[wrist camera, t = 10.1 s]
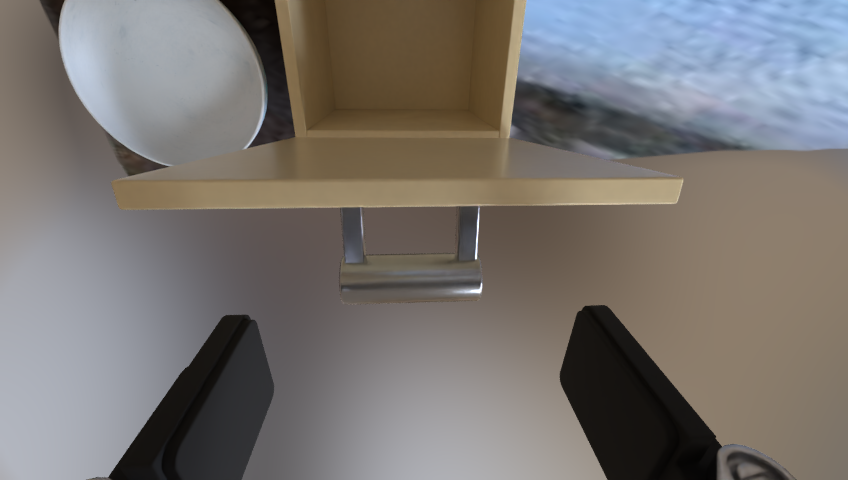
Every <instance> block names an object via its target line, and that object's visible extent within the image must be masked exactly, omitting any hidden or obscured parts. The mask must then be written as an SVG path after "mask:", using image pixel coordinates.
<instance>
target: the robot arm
mask: <svg viewBox="0 0 848 480" xmlns="http://www.w3.org/2000/svg"><path fill="white" fill-rule="evenodd" d="M560 382H561V385H562V388H563V390H564V392H565V394H566V396H567V398H568V400H569V402H570V404H571V406H572V408H573V410H574V412H575V414H576V416H577V418H578V420H579V422H580V424H581V426H582V428H583V430H584V433H585V435H586V437H587V439H588V441H589V443H590V445H591V447H592V449H593V451H594V453H595V455H596V457H597V459H598V461H599V463H600V465H601V467H602V469H603V471H604V473H605V476H606V478H607V479H608V480H796V479H795V478H794V477H793V476H792V475H791V474H790V473H789V472H788V471H787V470H786V469H785V468H783V467H782V466H781V465H780V464H778V463H777V462H776V461H774V460H773V459H772V458H770V457H768V456H766V455H765V454H763V453H761V452H759V451H757V450H755V449H752V448H749V447H747V446H743V445H737V444H730V445H725V446H723V447H722V446H721V445H720V444H719V442H718V441H717V440H716V439H715V438H716V436H715V435H714V433H713V432H712V431H711V430H710V429H709V427H708V426H707V425H706V424H705V423H704V421H703V420H702V419H701V418H700V417H699V415H698V414H697V413H696V412H695V411H694V410H693V408H692V407H691V406H690V405H689V403H688V402H687V401H686V400H685V399H684V397H682V395H681V394H680V393H679V392H678V390H677V389H676V388H675V387H674V385H673V384H672V383H671V382H670V381H669V379H668V378H667V377H666V376H665V375H664V373H663V372H662V371H661V370H660V369H659V367H658V366H657V365H656V364H655V363H654V361H653V360H652V359H651V358H650V357H649V355H648V354H647V353H646V352H645V350H644V349H643V348H642V347H641V346H640V344H639V343H638V342H637V341H636V340H635V338H634V337H633V336H632V335H631V334H630V332H629V331H628V330H627V329H626V328H625V326H624V325H623V324H622V323H621V322H620V320H619V319H618V318H617V317H616V316H615V314H614V313H613V312H612V311H611V310H610V309H609V308H608V307H607V306H605V305H598V306H597V305H596V306H585V307H584V308H583V309H582V311H579V312H578V313H577V316H576V319H575V322H574V326H573V329H572V333H571V336H570V340H569V343H568V347H567V350H566V354H565V357H564V361H563V364H562V368H561V371H560ZM273 393H274V383H273V380H272V377H271V373H270V369H269V366H268V362H267V358H266V355H265V351H264V347H263V344H262V340H261V337H260V333H259V329H258V326H257V323H256V321H255V320H251V319H250V317H249V316H248V315H226V316H224V317H223V318H222V319H221V320H220V322H219V323H218V325H217V326H216V327H215V329H214V330H213V332H212V333H211V335H210V336H209V338H208V339H207V341H206V342H205V343H204V345H203V346H202V348H201V349H200V351H199V352H198V354H197V355H196V356H195V358H194V359H193V361H192V362H191V364H190V365H189V366H188V367H187V368H185V369H184V370H183V371H182V373H181V374H180V375H179V377H178V378H177V380H176V381H175V382H174V384H173V385H172V387H171V388H170V390H169V391H168V392H167V394H166V396H165V397H164V398H163V400H162V401H161V402H160V404H159V405H158V407H157V408H156V410H155V411H154V412H153V414H152V415H151V417H150V418H149V420H148V421H147V423H146V424H145V425H144V427H143V428H142V430H141V431H140V433H139V434H138V435H137V437H136V438H135V440H134V441H133V442H132V444H131V445H130V447H129V448H128V450H127V451H126V453H125V454H124V455H123V457H122V458H121V460H120V461H119V463H118V464H117V465H116V467H115V468H114V470H113V471H112V472H111V474H110V475H109V477H108V478H105V477H104V478H103V477H96V478H92V479H88V480H241V479H242V477H243V474H244V471H245V469H246V466H247V464H248V461H249V458H250V456H251V453H252V450H253V448H254V445H255V442H256V440H257V437H258V435H259V432H260V429H261V427H262V424H263V421H264V419H265V416H266V413H267V411H268V408H269V406H270V403H271V400H272V397H273Z"/></svg>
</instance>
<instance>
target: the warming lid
mask: <svg viewBox="0 0 848 480" xmlns="http://www.w3.org/2000/svg"><path fill="white" fill-rule="evenodd" d="M111 184H112V187H113V190H114V194H115V197H116V200H117V203H118V206H119V208H120V209H122V210H144V209H145V210H148V209H235V208H236V209H241V208H328V207H329V208H333V207H340V212H341V223H342V224H341V225H342V237H343V248H344V256H343V258H342V260H341V265H340V273H339V287H340V296H341V300H342V303H343V304H377V303H379V304H380V303H415V302H449V301H477V300H479V299H480V296H481V292H482V267H481V262H480V259H479V256H478V254H477V241H478V226H479V210H480V206H516V205H517V206H518V205H603V204H606V205H609V204H675V203H677V202H678V198H679V194H680V191H681V187H682V184H683V178H682V177H679V176H675V175H670V174H666V173H662V172H657V171H653V170H648V169H644V168H640V167H635V166H631V165H627V164H623V163H618V162H614V161H609V160H605V159H601V158H596V157H592V156H588V155H583V154H579V153H575V152H570V151H566V150H561V149H557V148H553V147H548V146H544V145H540V144H535V143H531V142H527V141H522V140H518V139H513V138H385V137H294V138H290V139H285V140H281V141H277V142H273V143H269V144H264V145H260V146H256V147H252V148H247V149H243V150H239V151H235V152H231V153H226V154H222V155H218V156H214V157H209V158H205V159H201V160H197V161H193V162H188V163H184V164H180V165H176V166H171V167H167V168H163V169H159V170H155V171H150V172H146V173H142V174H138V175H133V176H129V177H125V178H121V179H116V180H114V181H112V183H111ZM418 206H419V207H420V206H422V207H425V206H457V214H456V238H455V239H456V240H455V253H437V254H436V253H431V254H385V255H384V254H381V255H366V246H365V227H364V211H363V207H418Z"/></svg>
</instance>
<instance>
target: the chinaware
mask: <svg viewBox="0 0 848 480" xmlns="http://www.w3.org/2000/svg"><path fill="white" fill-rule="evenodd" d="M59 45H60V51H61V56H62V60H63V64H64V67H65V70H66V72H67V75H68V77H69V80H70V82H71V84H72V86H73V88H74V90H75V91H76V93H77V95H78V97H79V98H80V100H81V101H82V103H83V105H84V106H85V107H86V109H87V110H88V111H89V113H90V114H91V115H92V116H93V117H94V119H95V120H96V121H97V122H98V123H99V124H100V125H101V126H102V127H103V128H104V129H105V130H106V131H107V132H108V133H109V134H110V135H112V136H113V137H114V138H115V139H116V140H118V141H119V142H120V143H122V144H123V145H125V146H126V147H127V148H129V149H131V150H132V151H134V152H136V153H137V154H139V155H141V156H143V157H145V158H147V159H150V160H152V161H155V162H157V163H160V164H163V165H167V166H176V165H180V164H184V163H188V162H193V161H197V160H201V159H205V158H209V157H214V156H218V155H222V154H226V153H231V152H235V151H239V150H243V149H246V148H247V147H248V146H249V145H250V144H251V142H252V141H253V140H254V138H255V137H256V135H257V133H258V132H259V130H260V128H261V125H262V123H263V120H264V117H265V113H266V108H267V97H268V91H267V81H266V75H265V71H264V67H263V64H262V61H261V58H260V56H259V53H258V51H257V49H256V47H255V45H254V43H253V41H252V40H251V38H250V36H249V35H248V33H247V32H246V30H245V29H244V27H243V26H242V25H241V23H240V22H239V21H238V19H237V18H236V17H235V16H234V15H233V14H232V13H231V11H230V10H229V9H228V8H227V7H226V6H225V5H224V4H223V3H222V2H220V1H219V0H65V1H64V4H63V7H62V10H61V14H60V20H59Z"/></svg>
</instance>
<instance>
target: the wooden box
mask: <svg viewBox="0 0 848 480" xmlns="http://www.w3.org/2000/svg"><path fill="white" fill-rule="evenodd" d="M275 5H276V12H277V18H278V25H279V31H280V38H281V44H282V51H283V57H284V64H285V70H286V77H287V83H288V90H289V96H290V103H291V109H292V116H293V122H294V129H295V135H296V137H385V138H509V135H510V127H511V119H512V111H513V103H514V95H515V87H516V79H517V71H518V63H519V55H520V47H521V39H522V31H523V23H524V15H525V7H526V0H275Z"/></svg>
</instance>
